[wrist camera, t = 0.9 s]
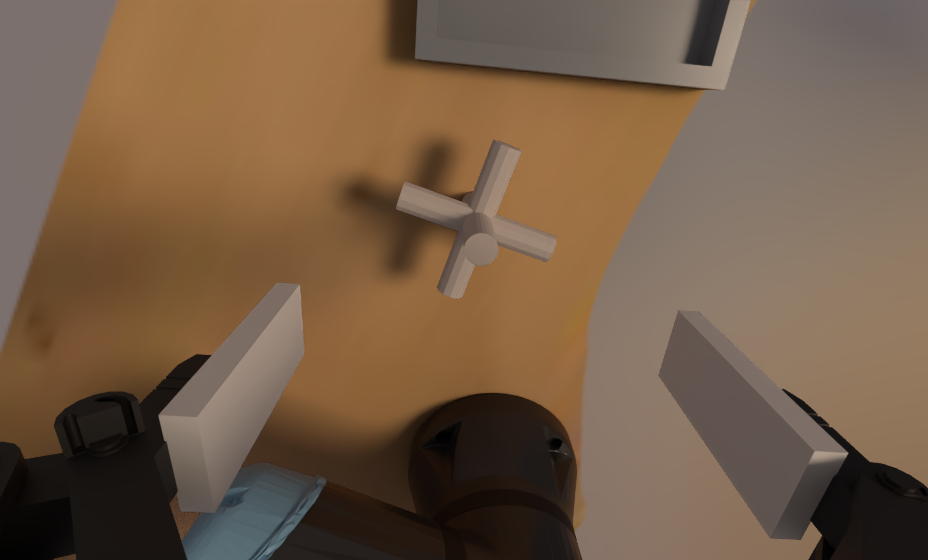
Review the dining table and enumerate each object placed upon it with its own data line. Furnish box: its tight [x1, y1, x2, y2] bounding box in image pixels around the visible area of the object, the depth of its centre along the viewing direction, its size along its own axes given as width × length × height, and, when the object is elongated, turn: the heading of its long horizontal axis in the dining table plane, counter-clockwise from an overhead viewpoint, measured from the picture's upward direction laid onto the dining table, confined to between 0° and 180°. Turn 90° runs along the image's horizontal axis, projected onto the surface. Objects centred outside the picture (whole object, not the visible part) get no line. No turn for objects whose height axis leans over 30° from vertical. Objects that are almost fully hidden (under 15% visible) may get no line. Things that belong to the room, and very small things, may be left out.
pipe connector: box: [396, 140, 557, 299], centre depth 28 cm, size 10×10×10 cm
